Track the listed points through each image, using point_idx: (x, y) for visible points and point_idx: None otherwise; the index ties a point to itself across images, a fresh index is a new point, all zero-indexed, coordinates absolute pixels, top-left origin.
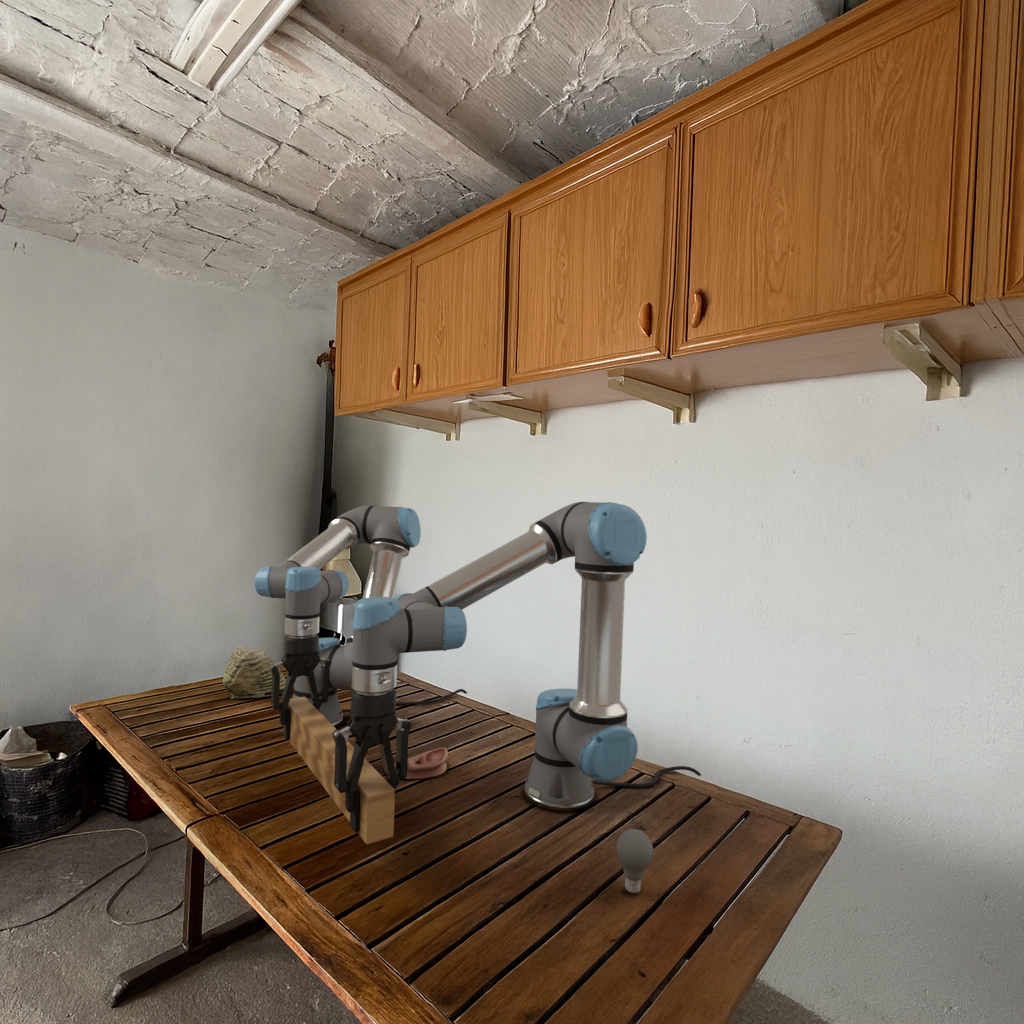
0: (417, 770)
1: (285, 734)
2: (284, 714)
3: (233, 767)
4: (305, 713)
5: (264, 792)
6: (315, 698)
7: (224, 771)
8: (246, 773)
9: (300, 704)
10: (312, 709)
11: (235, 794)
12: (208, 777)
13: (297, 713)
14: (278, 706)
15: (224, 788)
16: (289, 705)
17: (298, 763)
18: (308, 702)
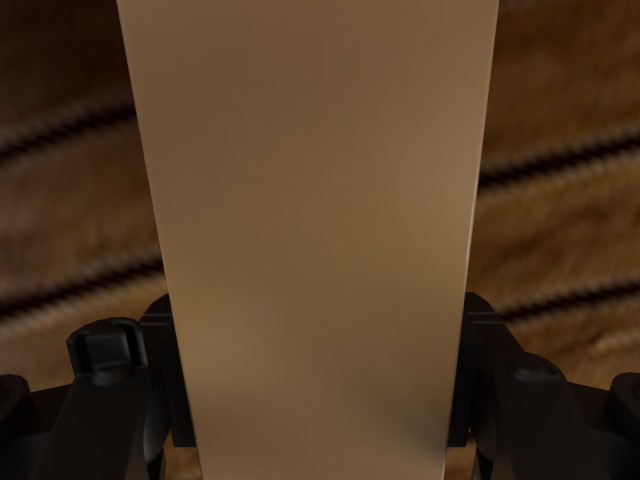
0: None
1: None
2: (485, 344)
3: (525, 335)
4: (360, 10)
5: (506, 49)
6: (106, 433)
7: (564, 316)
8: (503, 267)
9: (321, 411)
10: (211, 165)
11: (614, 89)
12: (632, 291)
13: (473, 82)
14: (632, 399)
15: (625, 169)
16: (447, 431)
17: None
18: (215, 438)
